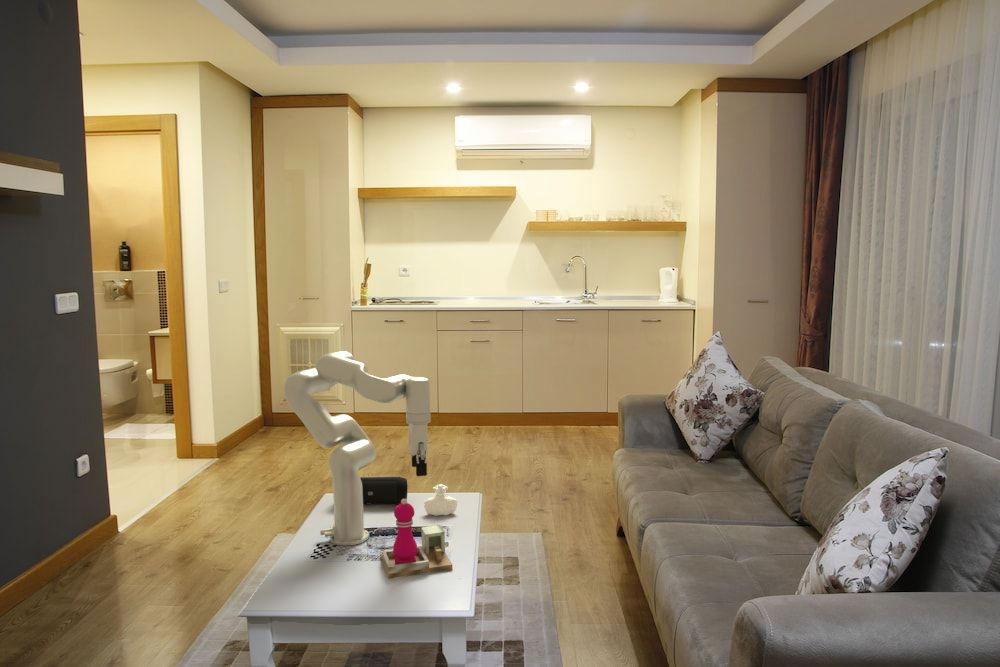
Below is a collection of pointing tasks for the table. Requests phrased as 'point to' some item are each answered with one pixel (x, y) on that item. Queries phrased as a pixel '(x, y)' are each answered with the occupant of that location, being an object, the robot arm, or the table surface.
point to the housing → (433, 538)
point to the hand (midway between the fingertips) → (419, 470)
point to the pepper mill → (404, 534)
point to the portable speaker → (384, 490)
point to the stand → (416, 563)
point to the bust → (440, 502)
